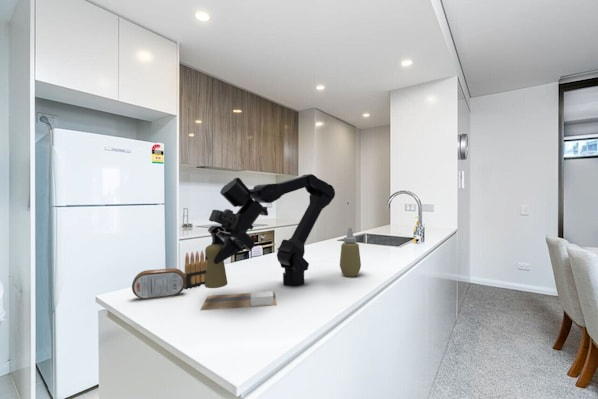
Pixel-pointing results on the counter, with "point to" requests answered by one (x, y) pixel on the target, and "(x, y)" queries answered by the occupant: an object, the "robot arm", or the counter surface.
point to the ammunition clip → (195, 270)
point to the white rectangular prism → (261, 298)
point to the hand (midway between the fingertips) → (210, 261)
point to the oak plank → (230, 301)
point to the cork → (214, 268)
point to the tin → (158, 283)
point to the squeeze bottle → (350, 256)
